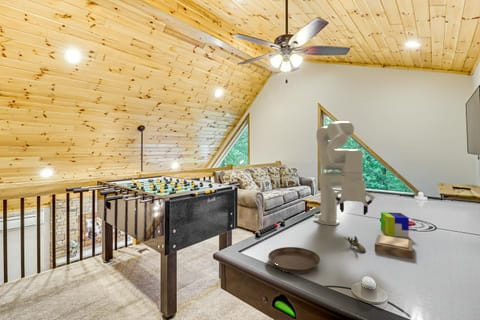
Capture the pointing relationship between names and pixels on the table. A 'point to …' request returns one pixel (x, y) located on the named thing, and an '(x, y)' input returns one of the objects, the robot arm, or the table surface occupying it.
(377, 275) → the table surface
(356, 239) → the eagle figurine
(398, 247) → the walnut tray
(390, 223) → the puzzle toy
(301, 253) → the plant saucer
